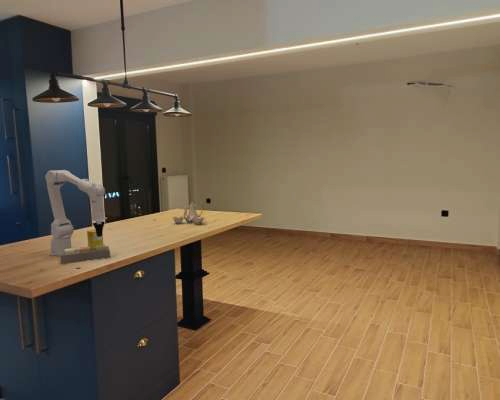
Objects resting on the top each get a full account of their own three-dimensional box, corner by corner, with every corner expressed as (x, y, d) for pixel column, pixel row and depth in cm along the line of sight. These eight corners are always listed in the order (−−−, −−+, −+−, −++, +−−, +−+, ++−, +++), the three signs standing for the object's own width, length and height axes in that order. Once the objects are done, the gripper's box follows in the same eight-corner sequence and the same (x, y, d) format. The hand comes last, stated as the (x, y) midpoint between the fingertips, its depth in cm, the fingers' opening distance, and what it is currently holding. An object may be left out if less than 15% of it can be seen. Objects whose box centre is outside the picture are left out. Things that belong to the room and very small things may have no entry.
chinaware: (169, 227, 284) (167, 205, 281) (179, 221, 300) (177, 200, 296) (203, 228, 276) (201, 205, 272) (212, 222, 291) (210, 200, 288)
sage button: (95, 251, 193) (95, 245, 192) (105, 250, 194) (104, 244, 194) (96, 253, 189) (95, 247, 188) (105, 252, 190) (105, 246, 190)
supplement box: (98, 248, 212) (97, 228, 211) (104, 249, 208) (102, 229, 207) (88, 250, 207) (86, 230, 206) (93, 251, 204) (92, 231, 202)
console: (61, 259, 189) (61, 250, 189) (108, 253, 198) (108, 245, 198) (61, 264, 180) (60, 255, 180) (110, 257, 189) (109, 249, 188)
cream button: (65, 255, 187) (64, 249, 187) (75, 253, 189) (74, 248, 188) (64, 257, 183) (64, 250, 183) (75, 255, 185) (74, 249, 184)
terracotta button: (80, 253, 190) (80, 247, 190) (90, 252, 192) (89, 246, 191) (80, 255, 186) (80, 249, 186) (90, 254, 188) (90, 248, 187)
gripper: (107, 210, 184) (109, 238, 186) (105, 207, 198) (107, 233, 199) (91, 211, 182) (93, 239, 183) (90, 208, 195) (92, 234, 196)
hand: (99, 236), depth 191 cm, fingers closed
